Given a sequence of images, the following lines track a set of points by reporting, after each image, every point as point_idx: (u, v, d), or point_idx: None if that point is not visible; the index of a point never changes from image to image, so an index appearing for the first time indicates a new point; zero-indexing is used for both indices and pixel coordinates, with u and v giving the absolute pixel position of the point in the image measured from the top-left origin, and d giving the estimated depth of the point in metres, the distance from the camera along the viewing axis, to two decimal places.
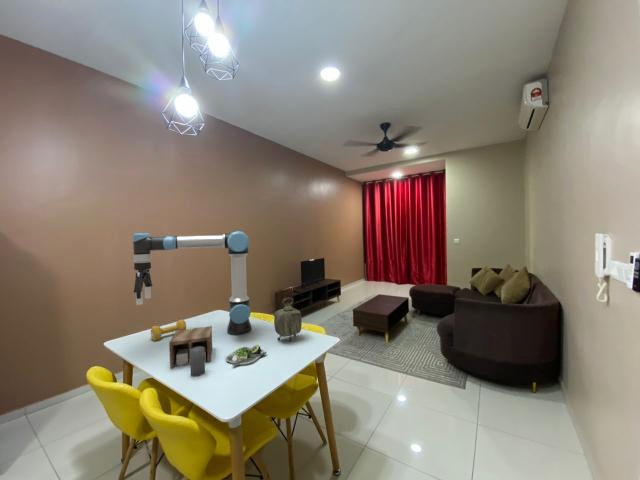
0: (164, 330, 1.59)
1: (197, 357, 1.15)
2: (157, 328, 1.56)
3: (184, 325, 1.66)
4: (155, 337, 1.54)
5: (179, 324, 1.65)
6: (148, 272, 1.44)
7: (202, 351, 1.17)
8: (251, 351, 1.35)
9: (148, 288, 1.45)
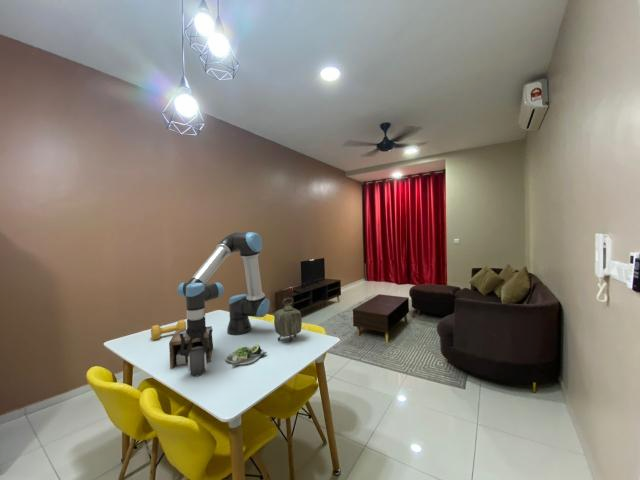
0: (164, 330, 1.60)
1: (197, 357, 1.15)
2: (156, 328, 1.56)
3: (184, 326, 1.65)
4: (154, 337, 1.55)
5: (179, 324, 1.64)
6: (207, 332, 1.18)
7: (202, 351, 1.17)
8: (251, 351, 1.35)
9: (204, 354, 1.18)
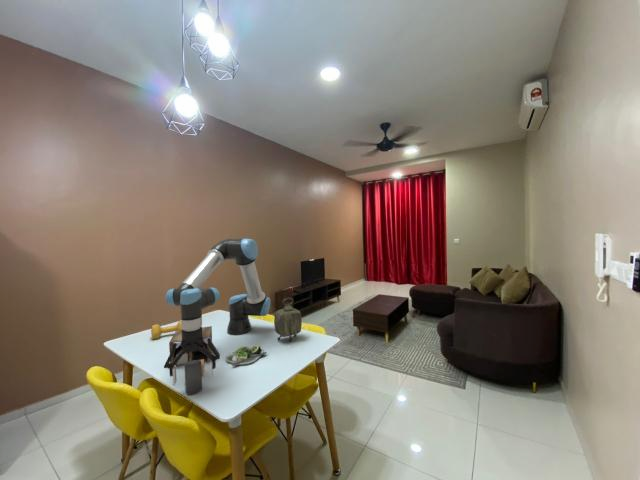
0: (163, 329, 1.60)
1: (193, 373, 1.02)
2: (155, 327, 1.57)
3: None
4: (153, 336, 1.56)
5: (178, 325, 1.63)
6: (206, 342, 1.05)
7: (199, 366, 1.04)
8: (251, 351, 1.35)
9: (210, 363, 1.06)
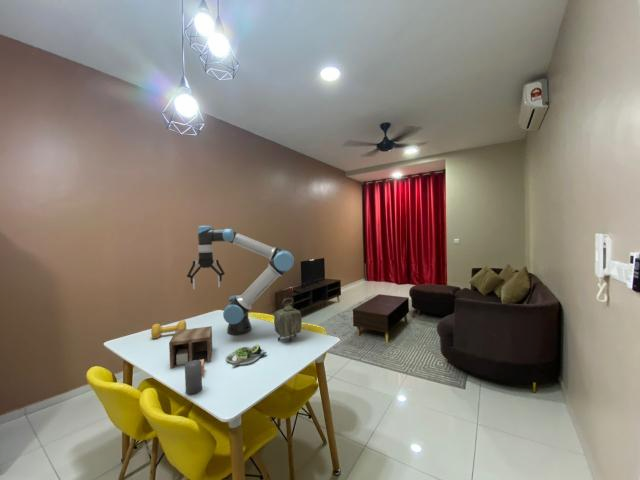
0: (163, 329, 1.61)
1: (193, 373, 1.02)
2: (155, 327, 1.58)
3: (182, 327, 1.63)
4: (152, 335, 1.57)
5: (178, 325, 1.63)
6: (215, 262, 1.53)
7: (199, 366, 1.04)
8: (251, 351, 1.35)
9: (218, 277, 1.54)
